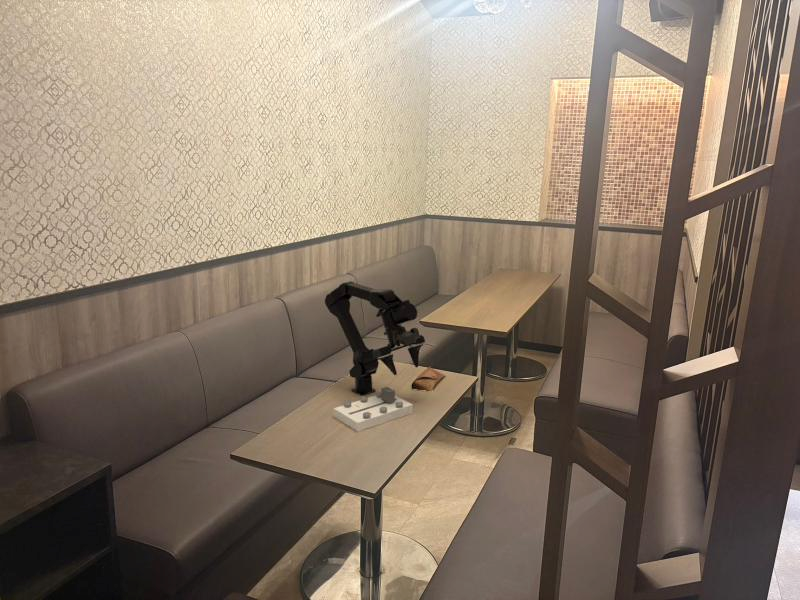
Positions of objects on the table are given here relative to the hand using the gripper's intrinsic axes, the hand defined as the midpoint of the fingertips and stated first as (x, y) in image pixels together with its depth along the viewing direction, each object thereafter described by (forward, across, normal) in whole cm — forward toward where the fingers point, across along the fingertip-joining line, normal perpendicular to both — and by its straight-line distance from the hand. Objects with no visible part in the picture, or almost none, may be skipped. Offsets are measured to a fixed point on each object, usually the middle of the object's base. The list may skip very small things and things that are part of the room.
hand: (406, 371), depth 196 cm
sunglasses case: (+9, +20, +17) cm, 28 cm away
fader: (+8, -7, +6) cm, 12 cm away
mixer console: (+10, -13, +7) cm, 18 cm away
